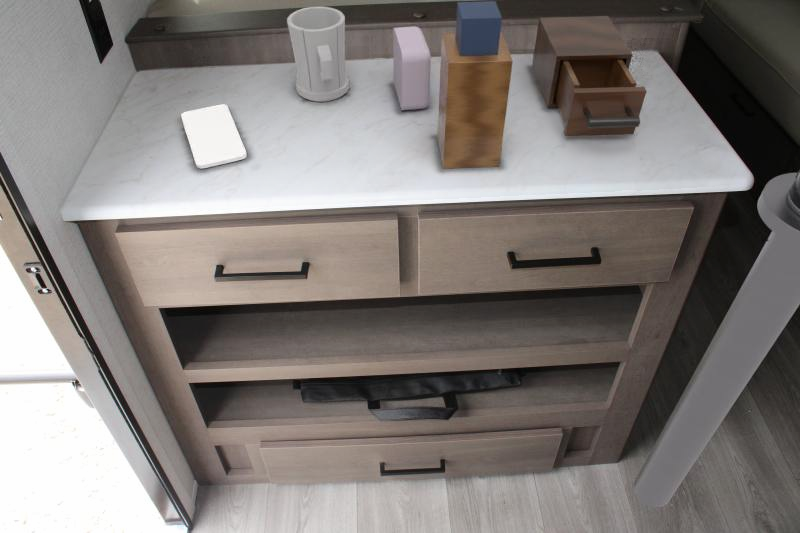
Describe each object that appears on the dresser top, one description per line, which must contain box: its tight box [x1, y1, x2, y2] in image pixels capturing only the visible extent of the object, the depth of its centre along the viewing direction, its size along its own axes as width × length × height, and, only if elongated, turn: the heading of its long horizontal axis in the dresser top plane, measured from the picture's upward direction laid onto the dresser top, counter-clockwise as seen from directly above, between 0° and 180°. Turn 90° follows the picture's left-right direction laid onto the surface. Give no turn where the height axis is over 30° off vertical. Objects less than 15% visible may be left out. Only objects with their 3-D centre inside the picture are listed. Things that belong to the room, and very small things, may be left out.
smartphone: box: [180, 103, 248, 170], centre depth 95 cm, size 7×1×15 cm
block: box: [455, 0, 503, 56], centre depth 79 cm, size 5×5×5 cm
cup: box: [286, 6, 350, 103], centre depth 100 cm, size 10×9×12 cm
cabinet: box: [531, 15, 633, 110], centre depth 102 cm, size 13×11×9 cm
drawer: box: [554, 59, 647, 137], centre depth 94 cm, size 17×10×7 cm, turn 2°
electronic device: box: [392, 25, 432, 111], centre depth 100 cm, size 10×5×10 cm, turn 8°
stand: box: [437, 31, 514, 169], centre depth 86 cm, size 8×8×16 cm
